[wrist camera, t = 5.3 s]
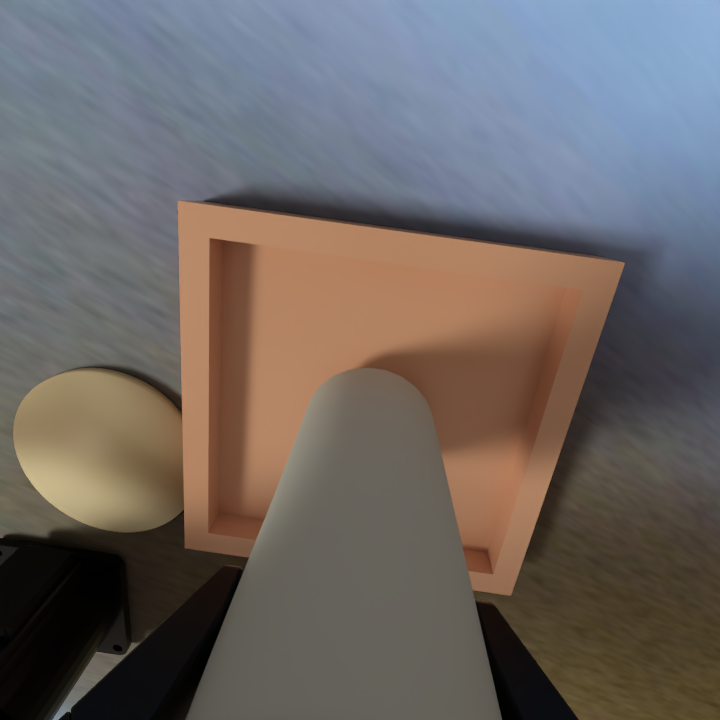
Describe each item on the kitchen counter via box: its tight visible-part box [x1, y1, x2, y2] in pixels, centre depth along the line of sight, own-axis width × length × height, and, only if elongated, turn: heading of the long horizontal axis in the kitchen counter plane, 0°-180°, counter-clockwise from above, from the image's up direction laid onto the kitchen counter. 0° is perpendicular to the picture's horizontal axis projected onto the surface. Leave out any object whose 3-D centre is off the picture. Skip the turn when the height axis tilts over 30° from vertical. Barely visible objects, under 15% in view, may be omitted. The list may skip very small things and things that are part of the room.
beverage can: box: [185, 368, 502, 720], centre depth 11 cm, size 5×5×12 cm
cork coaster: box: [13, 368, 184, 532], centre depth 19 cm, size 8×8×1 cm
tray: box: [178, 201, 625, 596], centre depth 17 cm, size 14×14×2 cm
